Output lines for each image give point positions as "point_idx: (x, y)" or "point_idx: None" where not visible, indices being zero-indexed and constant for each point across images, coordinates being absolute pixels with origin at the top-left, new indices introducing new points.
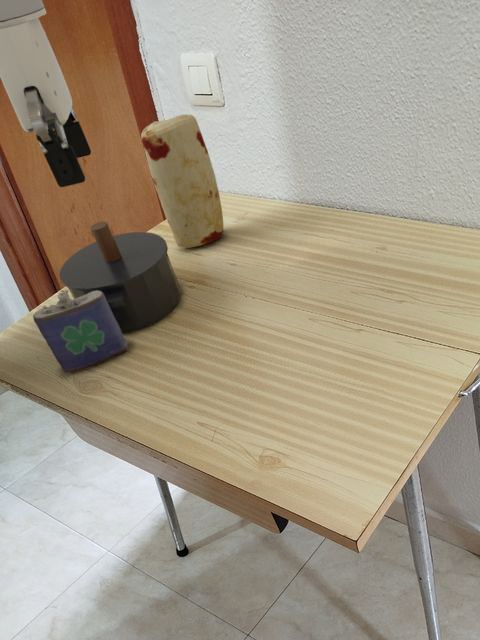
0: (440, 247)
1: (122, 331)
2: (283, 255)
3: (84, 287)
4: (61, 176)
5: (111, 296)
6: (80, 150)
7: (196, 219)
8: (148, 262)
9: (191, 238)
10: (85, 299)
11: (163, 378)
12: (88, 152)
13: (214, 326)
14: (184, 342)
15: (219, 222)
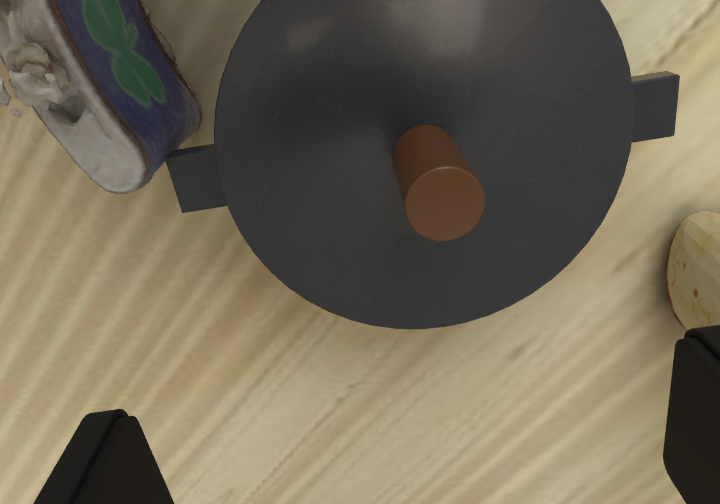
0: None
1: None
2: (505, 449)
3: (227, 85)
4: None
5: (204, 172)
6: (690, 454)
7: None
8: (343, 288)
9: (676, 271)
10: (104, 130)
11: (51, 243)
12: (669, 472)
13: (243, 331)
14: (189, 272)
15: None
